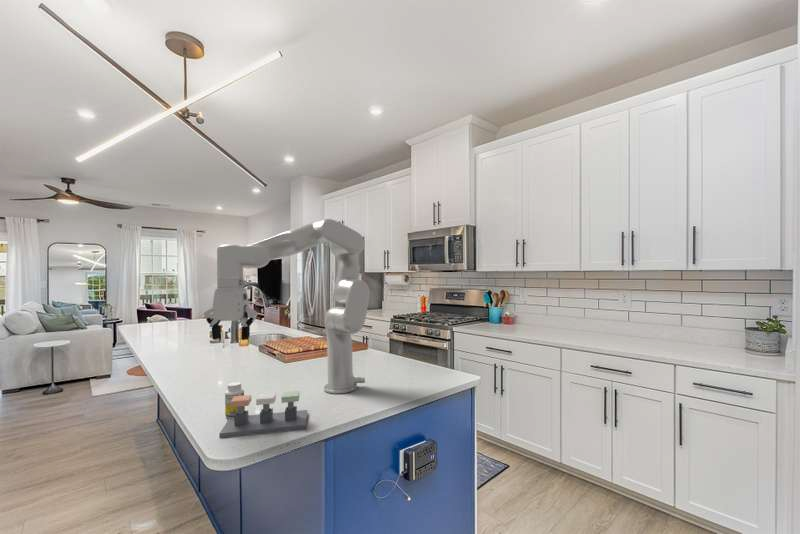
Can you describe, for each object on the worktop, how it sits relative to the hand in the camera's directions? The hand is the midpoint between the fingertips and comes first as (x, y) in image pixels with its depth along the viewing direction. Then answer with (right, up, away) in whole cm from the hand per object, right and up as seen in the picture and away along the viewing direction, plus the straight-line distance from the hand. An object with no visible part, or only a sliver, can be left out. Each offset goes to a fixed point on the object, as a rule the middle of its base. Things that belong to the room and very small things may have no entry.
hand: (230, 339), depth 116 cm
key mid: (+13, -20, -6) cm, 25 cm away
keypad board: (+13, -24, -6) cm, 28 cm away
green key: (+20, -20, -4) cm, 29 cm away
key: (+6, -21, -7) cm, 23 cm away
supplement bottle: (+1, -25, +2) cm, 25 cm away
